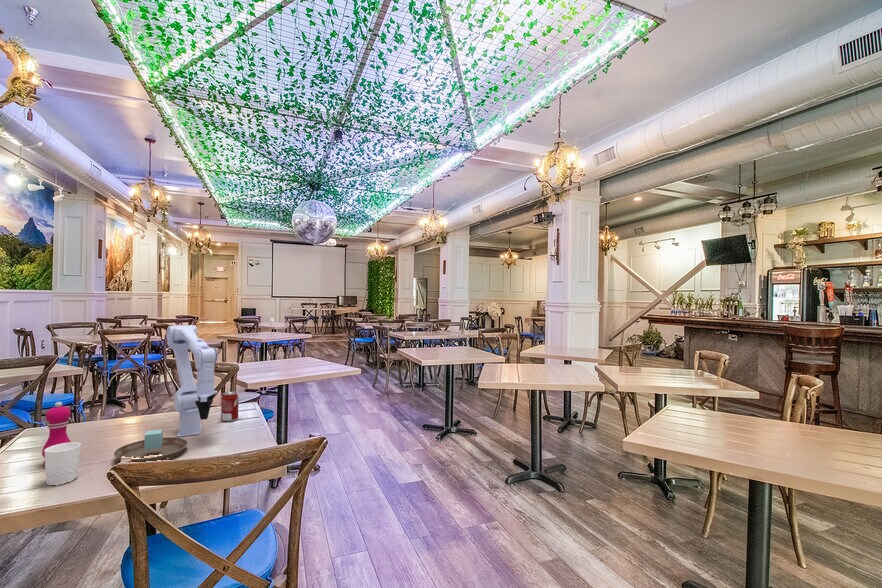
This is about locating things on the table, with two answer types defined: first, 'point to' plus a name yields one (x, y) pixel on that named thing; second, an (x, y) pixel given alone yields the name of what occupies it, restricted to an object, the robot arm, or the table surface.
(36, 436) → the table surface
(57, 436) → the pepper mill
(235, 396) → the soda can
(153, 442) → the block
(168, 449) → the plant saucer
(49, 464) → the white cup
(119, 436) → the table surface
